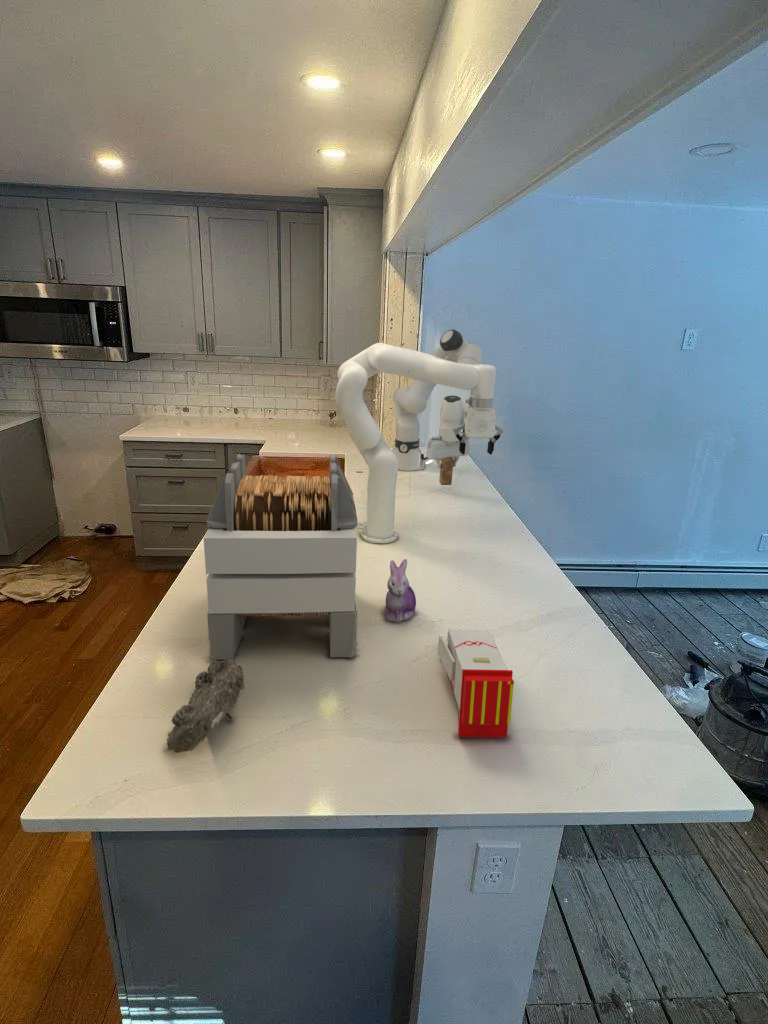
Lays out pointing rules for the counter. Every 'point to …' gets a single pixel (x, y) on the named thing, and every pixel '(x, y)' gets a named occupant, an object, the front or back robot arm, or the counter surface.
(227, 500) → the grey record storage stand
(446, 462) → the block
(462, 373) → the front robot arm
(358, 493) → the counter surface
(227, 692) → the fossil
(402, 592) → the figurine
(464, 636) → the toy
